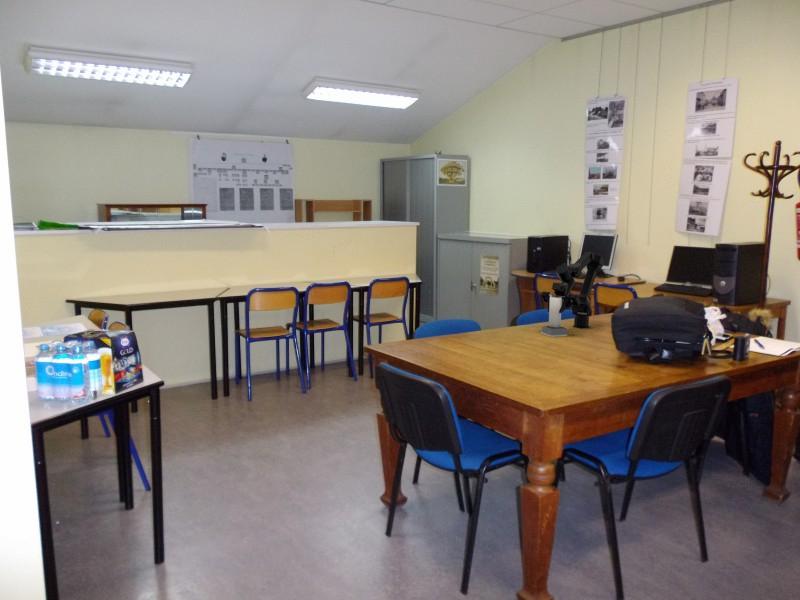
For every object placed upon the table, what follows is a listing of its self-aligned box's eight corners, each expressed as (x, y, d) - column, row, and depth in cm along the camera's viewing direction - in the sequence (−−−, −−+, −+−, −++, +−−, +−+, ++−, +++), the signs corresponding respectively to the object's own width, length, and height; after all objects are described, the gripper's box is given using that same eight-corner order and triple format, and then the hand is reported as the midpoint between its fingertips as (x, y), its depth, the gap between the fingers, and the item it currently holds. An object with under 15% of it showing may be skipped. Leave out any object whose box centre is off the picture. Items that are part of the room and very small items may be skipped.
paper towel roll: (559, 325, 320) (560, 296, 318) (561, 327, 314) (563, 298, 312) (547, 325, 320) (548, 296, 318) (550, 327, 314) (551, 298, 312)
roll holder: (557, 332, 323) (557, 325, 322) (567, 335, 314) (567, 328, 314) (541, 333, 320) (541, 325, 320) (550, 336, 312) (551, 329, 311)
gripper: (543, 274, 322) (530, 299, 316) (578, 277, 310) (566, 303, 304) (550, 289, 329) (538, 313, 323) (585, 292, 317) (573, 318, 311)
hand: (553, 312), depth 315 cm, fingers closed on paper towel roll, 6 cm apart
